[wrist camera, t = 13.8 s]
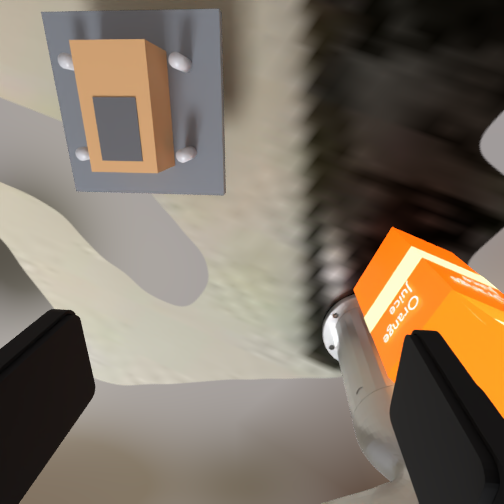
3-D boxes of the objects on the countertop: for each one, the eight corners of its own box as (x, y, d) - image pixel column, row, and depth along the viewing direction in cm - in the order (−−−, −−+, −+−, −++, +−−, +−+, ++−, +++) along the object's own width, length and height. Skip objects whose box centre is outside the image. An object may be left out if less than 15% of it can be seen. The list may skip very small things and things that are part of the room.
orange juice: (453, 252, 37) (623, 388, 18) (409, 313, 40) (515, 480, 22) (390, 225, 36) (500, 337, 18) (351, 289, 40) (409, 439, 21)
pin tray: (225, 192, 35) (218, 202, 31) (82, 189, 36) (58, 197, 33) (221, 12, 29) (212, -4, 25) (49, 15, 30) (15, 0, 26)
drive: (175, 165, 33) (157, 173, 29) (118, 164, 34) (91, 171, 29) (166, 51, 30) (143, 38, 25) (101, 51, 30) (68, 39, 25)
